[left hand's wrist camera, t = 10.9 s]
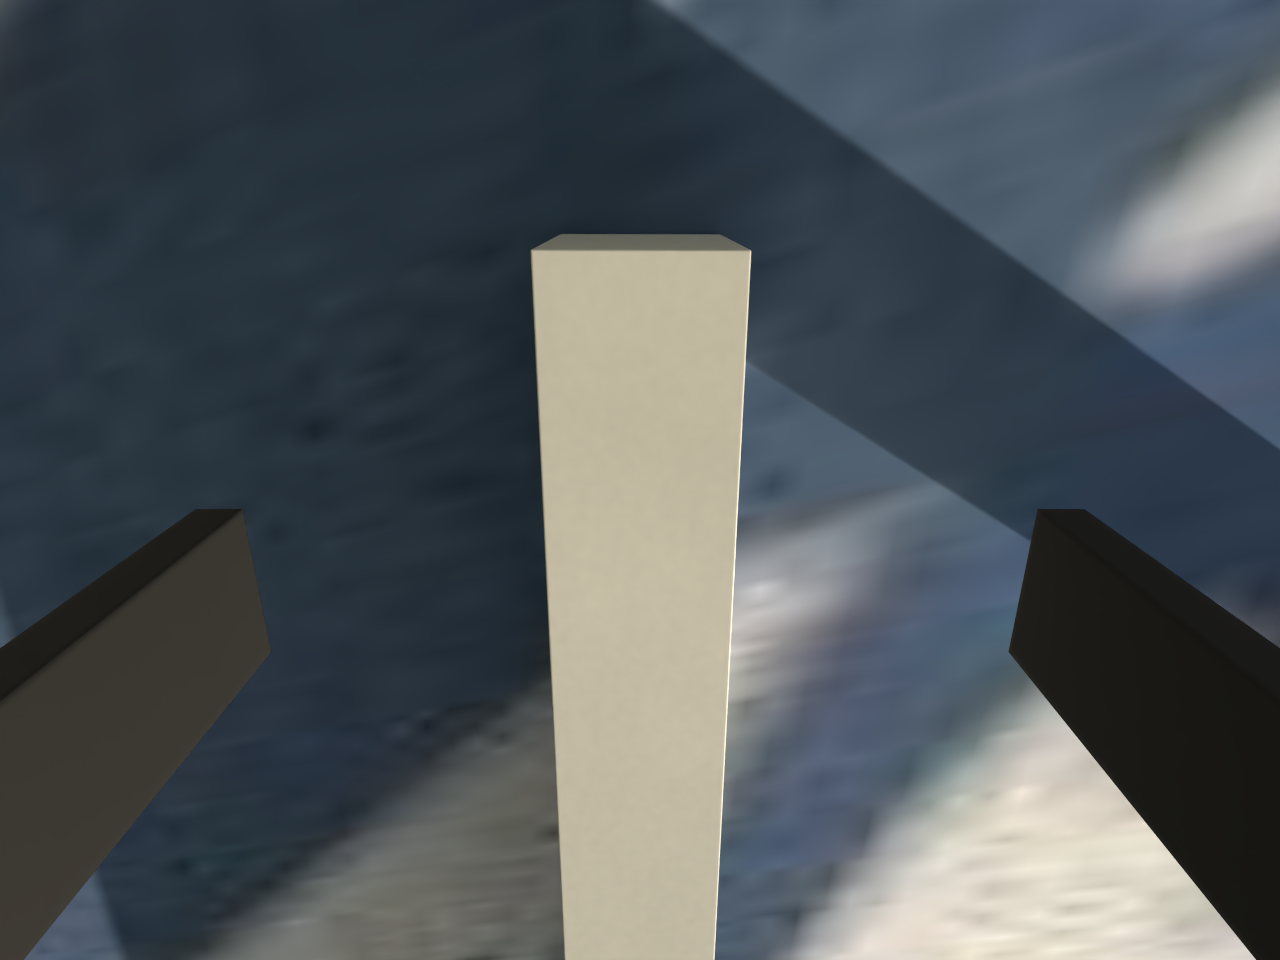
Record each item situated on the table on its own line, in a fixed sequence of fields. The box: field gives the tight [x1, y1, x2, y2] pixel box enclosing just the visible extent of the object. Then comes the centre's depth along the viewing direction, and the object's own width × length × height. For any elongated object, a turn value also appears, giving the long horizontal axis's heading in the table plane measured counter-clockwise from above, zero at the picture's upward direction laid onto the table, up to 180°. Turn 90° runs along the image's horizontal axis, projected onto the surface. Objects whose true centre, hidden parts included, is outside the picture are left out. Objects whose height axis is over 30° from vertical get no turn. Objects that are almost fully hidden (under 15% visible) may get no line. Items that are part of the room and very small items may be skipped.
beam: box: [531, 234, 751, 960], centre depth 36 cm, size 64×6×8 cm, turn 0°
